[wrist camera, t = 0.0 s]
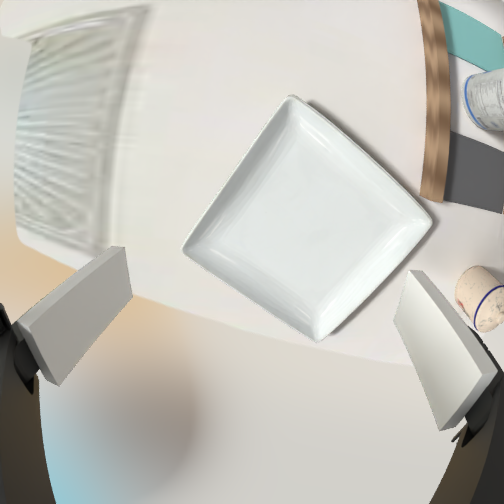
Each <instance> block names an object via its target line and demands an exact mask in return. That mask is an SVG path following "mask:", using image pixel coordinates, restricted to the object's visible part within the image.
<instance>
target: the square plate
mask: <svg viewBox="0 0 504 504" xmlns="http://www.w3.org/2000/svg"><path fill="white" fill-rule="evenodd" d="M432 222H433V221H432V218H431V217H430V216H429V214H428V213H427V212H426V211H425V210H424V208H423V207H422V206H421V205H420V204H419V203H418V202H417V201H416V200H415V199H414V198H413V197H412V196H411V195H410V194H409V193H408V192H407V191H406V190H405V189H404V188H403V187H402V186H401V185H400V184H399V183H398V182H397V181H396V180H395V179H394V178H393V177H392V176H391V175H390V174H389V173H388V172H387V171H386V170H385V169H384V168H383V167H382V166H380V165H379V164H378V163H377V162H376V161H375V160H374V159H373V158H372V157H371V156H370V155H369V154H367V153H366V152H365V151H364V150H363V149H362V148H361V147H360V146H359V145H357V144H356V143H355V142H354V141H353V140H352V139H351V138H349V137H348V136H347V135H346V134H345V133H344V132H343V131H341V130H340V129H339V128H338V127H337V126H335V125H334V124H333V123H332V122H331V121H329V120H328V119H327V118H326V117H324V116H323V115H322V114H321V113H319V112H318V111H317V110H315V109H314V108H313V107H311V106H310V105H309V104H307V103H306V102H304V101H303V100H301V99H300V98H298V97H297V96H295V95H288V96H287V97H286V98H285V99H284V100H283V101H282V103H281V104H280V105H279V106H278V107H277V109H276V110H275V111H274V113H273V114H272V115H271V117H270V118H269V120H268V121H267V122H266V124H265V125H264V127H263V128H262V129H261V131H260V132H259V134H258V135H257V137H256V138H255V140H254V141H253V142H252V144H251V145H250V147H249V148H248V150H247V151H246V153H245V154H244V155H243V157H242V158H241V160H240V161H239V163H238V164H237V166H236V167H235V169H234V170H233V171H232V173H231V174H230V176H229V177H228V178H227V180H226V181H225V183H224V184H223V186H222V187H221V188H220V190H219V191H218V193H217V194H216V195H215V197H214V198H213V200H212V201H211V203H210V204H209V205H208V207H207V208H206V210H205V211H204V212H203V214H202V215H201V217H200V218H199V219H198V221H197V222H196V224H195V225H194V227H193V228H192V230H191V231H190V233H189V234H188V236H187V237H186V239H185V240H184V242H183V244H182V246H181V252H182V254H183V255H184V256H186V257H187V258H188V259H190V260H191V261H193V262H194V263H195V264H197V265H198V266H200V267H201V268H202V269H204V270H205V271H207V272H208V273H210V274H211V275H213V276H214V277H216V278H217V279H219V280H220V281H222V282H223V283H225V284H226V285H228V286H229V287H231V288H232V289H233V290H235V291H236V292H238V293H239V294H241V295H242V296H244V297H245V298H247V299H248V300H250V301H251V302H253V303H254V304H256V305H257V306H259V307H260V308H262V309H263V310H265V311H266V312H268V313H269V314H271V315H272V316H274V317H275V318H277V319H278V320H280V321H281V322H283V323H284V324H286V325H288V326H289V327H291V328H292V329H294V330H295V331H297V332H298V333H300V334H302V335H303V336H305V337H306V338H308V339H310V340H312V341H314V342H320V341H322V340H323V339H324V338H325V337H327V336H328V335H329V334H330V333H331V332H332V331H333V330H335V329H336V328H337V327H338V326H339V325H340V324H341V323H342V322H343V321H344V320H345V319H346V318H347V317H348V316H349V315H350V314H351V313H353V312H354V311H355V310H356V309H357V308H358V307H359V306H360V305H361V304H362V303H363V302H364V301H365V300H366V299H367V298H368V297H369V296H370V295H371V294H372V293H373V291H374V290H375V289H376V288H377V287H378V286H379V285H380V284H381V283H382V282H383V281H384V280H385V279H386V278H387V277H388V276H389V275H390V274H391V273H392V271H393V270H394V269H395V268H396V267H397V266H398V265H399V264H400V263H401V262H402V261H403V260H404V259H405V257H406V256H407V255H408V254H409V253H410V252H411V251H412V249H413V248H414V247H415V246H416V245H417V244H418V243H419V241H420V240H421V239H422V238H423V237H424V235H425V234H426V233H427V231H428V230H429V229H430V227H431V226H432Z"/></svg>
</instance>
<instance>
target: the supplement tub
mask: <svg viewBox="0 0 504 504" xmlns="http://www.w3.org/2000/svg"><path fill="white" fill-rule="evenodd" d="M461 96H462V102H463V105H464V108H465V110H466V113H467V114H468V116H469V118H470V119H471V120H472V121H473V123H475V124H476V125H477V126H478V127H480V128H482V129H485V130H494V131H504V68H502V69H497V70H492V71H488V72H483V73H479V74H475V75H471V76H469V77H467V78H466V79H465V81H464V82H463V85H462V90H461Z"/></svg>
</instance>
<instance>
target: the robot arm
mask: <svg viewBox="0 0 504 504" xmlns="http://www.w3.org/2000/svg"><path fill="white" fill-rule="evenodd" d="M132 297H133V295H132V290H131V284H130V279H129V273H128V267H127V260H126V253H125V247H117V246H111V247H110V248H109V249H107V250H106V251H104V252H103V253H102V254H100V255H99V256H97V257H96V258H95V259H93V260H92V261H90V262H89V263H88V264H86V265H85V266H84V267H82V268H81V269H80V270H78V271H77V272H76V273H74V274H73V275H72V276H70V277H69V278H68V279H67V280H65V281H64V282H63V283H62V284H60V285H59V286H58V287H56V288H55V289H54V290H53V291H51V292H50V293H49V294H47V295H46V296H45V297H44V298H42V299H41V300H40V301H39V302H38V303H36V304H35V305H34V306H33V307H32V308H30V309H29V310H28V311H27V312H26V313H25V314H24V315H22V316H21V317H20V318H19V319H18V320H17V321H16V322H14V324H12V325H11V323H10V321H9V318H8V316H7V314H6V311H5V309H4V306H3V305H2V304H1V303H0V504H56V502H55V498H54V495H53V491H52V487H51V483H50V478H49V474H48V469H47V464H46V458H45V452H44V445H43V437H42V428H41V419H40V402H39V379H38V376H37V375H36V372H37V371H38V370H39V369H40V370H41V372H42V374H43V375H44V377H45V379H46V380H47V381H49V382H51V383H53V384H55V385H57V386H60V385H61V384H62V382H63V381H64V379H65V378H66V377H67V376H68V374H69V373H70V372H71V371H72V369H73V368H74V367H75V365H76V364H77V363H78V362H79V360H80V359H81V358H82V357H83V355H84V354H85V353H86V352H87V350H88V349H89V348H90V347H91V345H92V344H93V343H94V342H95V341H96V339H97V338H98V337H99V336H100V335H101V333H102V332H103V331H104V330H105V329H106V327H107V326H108V325H109V324H110V323H111V322H112V320H113V319H114V318H115V317H116V316H117V315H118V313H119V312H120V311H121V310H122V309H123V308H124V307H125V305H126V304H127V303H128V302H129V301H130V300H131V299H132ZM393 321H394V323H395V325H396V327H397V329H398V331H399V333H400V336H401V338H402V340H403V342H404V344H405V346H406V349H407V351H408V353H409V355H410V358H411V360H412V362H413V364H414V367H415V369H416V371H417V374H418V376H419V379H420V381H421V383H422V386H423V388H424V391H425V394H426V396H427V399H428V401H429V404H430V407H431V409H432V412H433V415H434V417H435V421H436V424H437V426H438V429H439V431H442V430H446V429H449V428H454V427H456V425H457V424H458V423H459V422H460V421H461V420H462V419H463V417H464V416H465V418H466V420H467V423H466V425H465V426H464V427H463V428H462V429H461V430H460V431H459V432H458V433H457V435H456V436H455V437H454V438H453V439H452V441H451V442H454V441H455V440H456V439H457V438H458V437H459V440H458V442H457V445H456V448H455V450H454V453H453V456H452V458H451V461H450V463H449V465H448V467H447V469H446V472H445V474H444V476H443V478H442V480H441V482H440V484H439V486H438V488H437V490H436V492H435V494H434V496H433V498H432V499H431V501H430V503H429V504H504V372H503V371H502V369H501V367H500V366H499V364H498V363H497V361H496V360H495V358H494V357H493V355H492V354H491V352H490V351H489V350H488V348H487V346H486V345H485V344H483V341H482V339H481V338H480V337H479V335H478V334H477V333H476V332H475V331H474V330H473V329H471V328H470V327H469V326H467V325H466V324H465V322H464V321H463V320H462V318H461V317H460V316H459V314H458V313H457V312H456V310H455V309H454V308H453V307H452V305H451V304H450V303H449V302H448V300H447V299H446V298H445V297H444V296H443V294H442V293H441V292H440V291H439V290H438V288H437V287H436V286H435V285H434V284H433V282H432V281H431V280H430V279H429V278H428V277H427V276H426V274H425V273H424V272H423V271H416V270H409V272H408V275H407V279H406V282H405V286H404V289H403V292H402V296H401V299H400V302H399V305H398V308H397V311H396V314H395V317H394V320H393Z"/></svg>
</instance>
